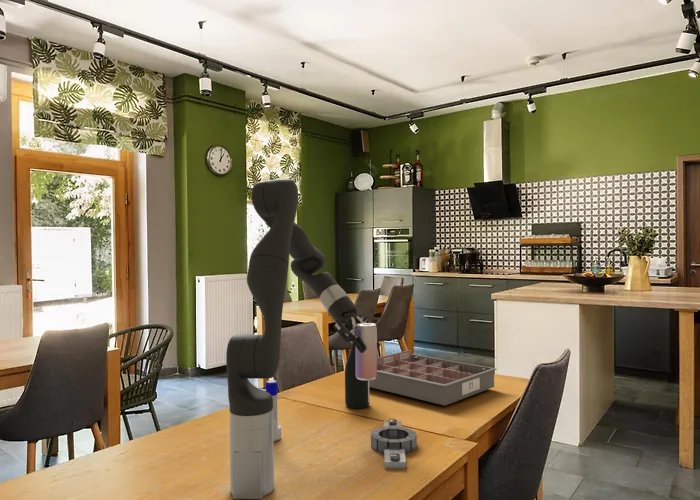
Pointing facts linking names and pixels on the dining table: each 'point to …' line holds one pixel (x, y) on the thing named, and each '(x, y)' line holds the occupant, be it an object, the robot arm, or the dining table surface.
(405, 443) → the pipe clamp bracket
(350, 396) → the wine bottle
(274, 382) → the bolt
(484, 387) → the organizer tray
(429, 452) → the dining table surface
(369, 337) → the beverage can
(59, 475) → the dining table surface
